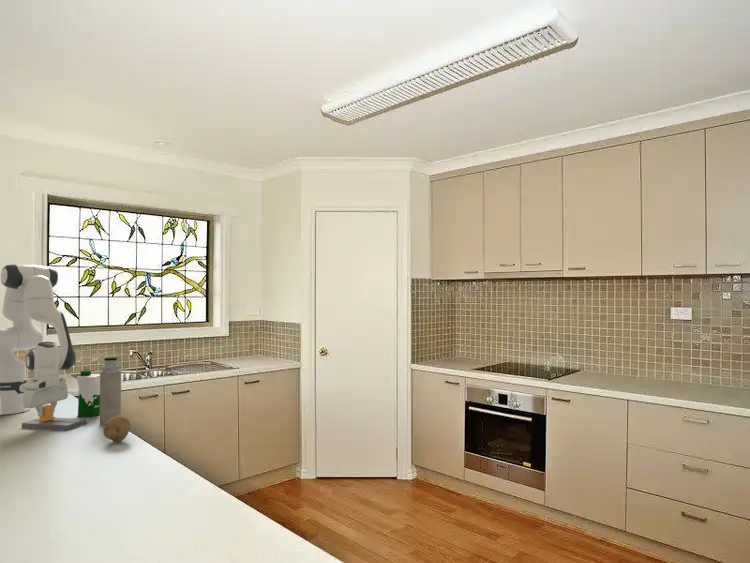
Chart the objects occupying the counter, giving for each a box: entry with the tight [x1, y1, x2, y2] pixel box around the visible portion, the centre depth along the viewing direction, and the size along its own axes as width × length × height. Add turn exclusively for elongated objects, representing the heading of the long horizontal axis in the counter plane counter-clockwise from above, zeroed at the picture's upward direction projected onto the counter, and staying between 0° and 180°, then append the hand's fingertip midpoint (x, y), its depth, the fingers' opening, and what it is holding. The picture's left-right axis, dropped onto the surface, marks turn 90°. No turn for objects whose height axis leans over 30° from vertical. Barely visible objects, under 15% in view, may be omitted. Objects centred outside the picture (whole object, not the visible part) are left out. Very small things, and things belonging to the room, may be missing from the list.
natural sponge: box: [103, 415, 132, 444], centre depth 194 cm, size 9×9×10 cm
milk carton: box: [76, 369, 100, 418], centre depth 236 cm, size 9×9×20 cm
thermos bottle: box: [99, 356, 122, 427], centre depth 221 cm, size 8×8×28 cm
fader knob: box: [36, 404, 56, 421], centre depth 218 cm, size 4×5×6 cm
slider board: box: [21, 416, 88, 432], centre depth 217 cm, size 21×11×2 cm, turn 80°
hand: (46, 414), depth 218 cm, fingers closed on fader knob, 4 cm apart
